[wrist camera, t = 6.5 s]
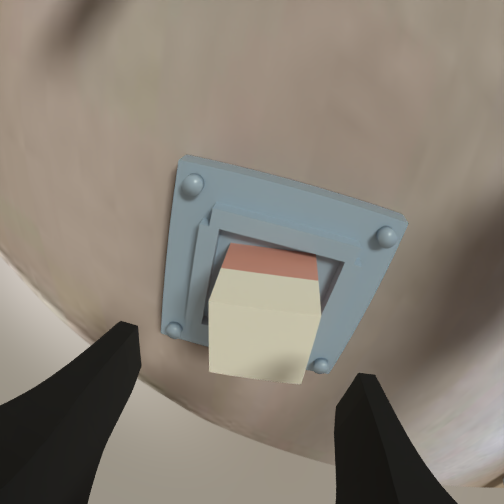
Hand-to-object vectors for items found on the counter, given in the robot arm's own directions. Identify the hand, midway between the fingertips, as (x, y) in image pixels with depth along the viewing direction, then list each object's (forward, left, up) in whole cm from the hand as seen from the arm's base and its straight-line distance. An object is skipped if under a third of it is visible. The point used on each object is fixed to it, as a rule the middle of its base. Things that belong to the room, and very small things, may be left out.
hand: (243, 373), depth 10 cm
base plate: (-1, +2, -10) cm, 10 cm away
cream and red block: (-1, +2, -8) cm, 9 cm away
